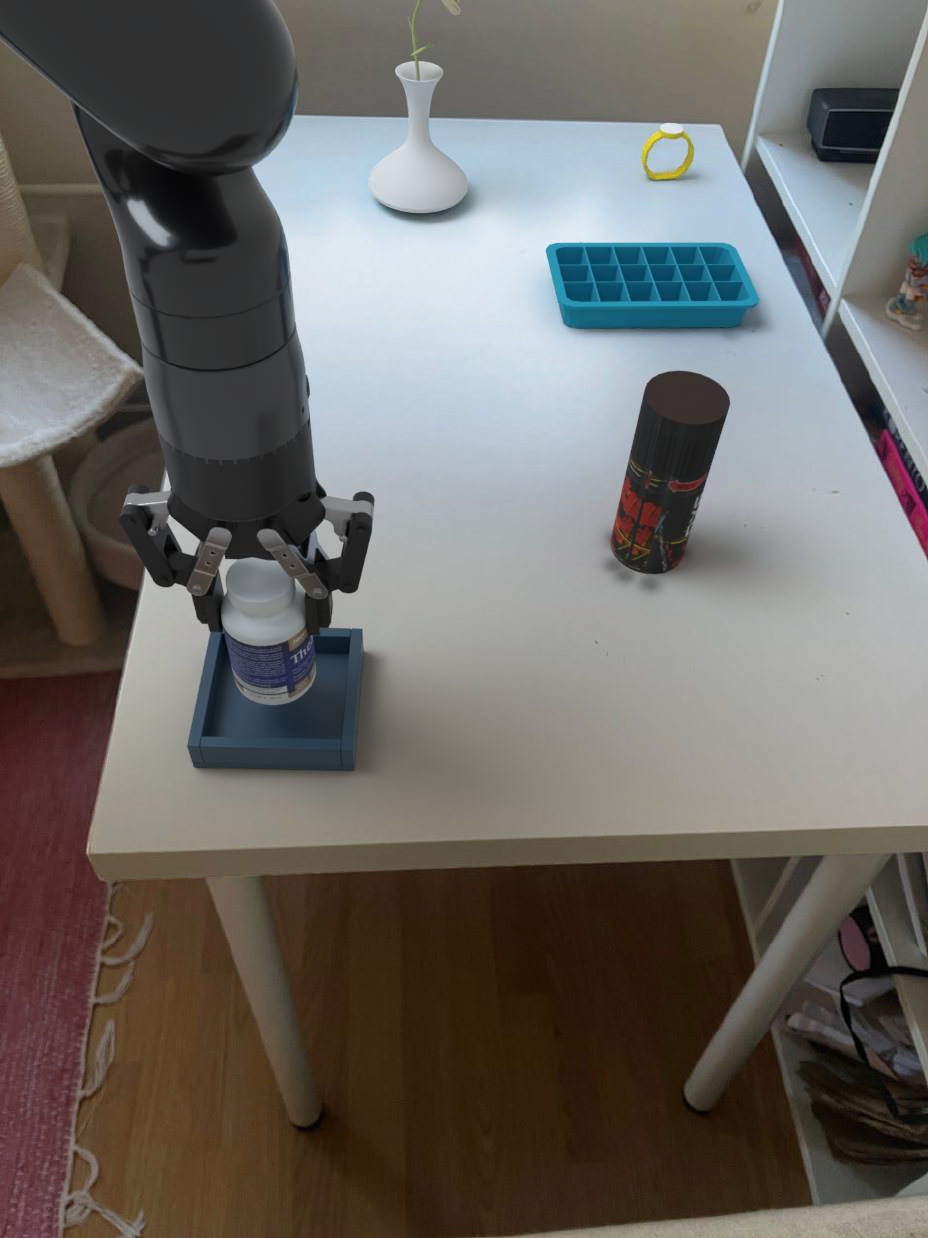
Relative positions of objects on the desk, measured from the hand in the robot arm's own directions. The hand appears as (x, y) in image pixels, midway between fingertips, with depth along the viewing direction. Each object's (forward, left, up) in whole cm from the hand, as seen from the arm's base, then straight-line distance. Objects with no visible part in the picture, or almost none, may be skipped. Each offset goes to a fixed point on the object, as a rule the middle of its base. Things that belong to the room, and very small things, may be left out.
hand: (268, 622), depth 62 cm
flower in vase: (-23, +69, -10) cm, 73 cm away
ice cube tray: (+7, +61, -10) cm, 62 cm away
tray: (0, 0, -9) cm, 9 cm away
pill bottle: (0, 0, -6) cm, 6 cm away
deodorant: (+18, +27, -10) cm, 34 cm away
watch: (+1, +87, -10) cm, 87 cm away
